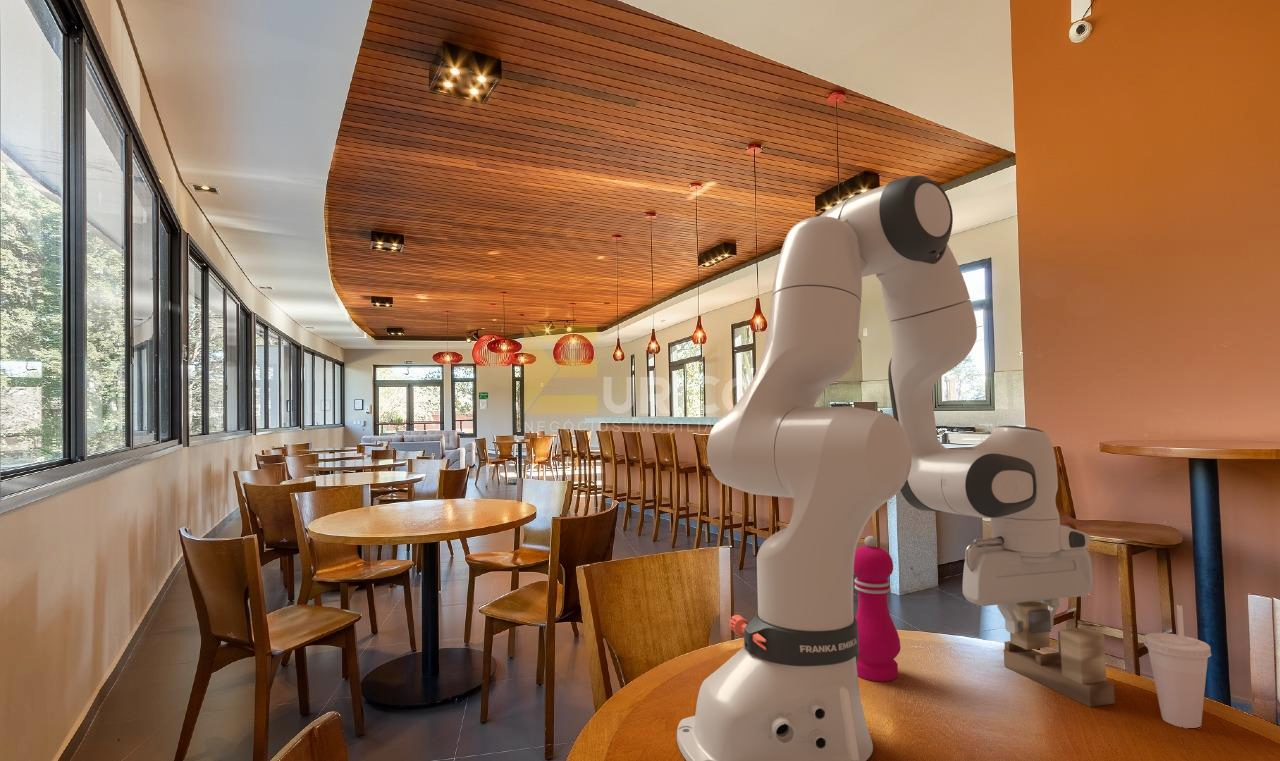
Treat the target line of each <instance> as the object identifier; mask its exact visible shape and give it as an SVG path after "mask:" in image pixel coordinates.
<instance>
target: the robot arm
mask: <svg viewBox="0 0 1280 761" xmlns="http://www.w3.org/2000/svg"><path fill="white" fill-rule="evenodd" d="M953 217H954V216H953V209H952V205H951V201H950V199H949V197H948V195H947V193H946V192H945V190H944V189H943V187H942V186H940V185H939V184H938V183H937V182H936V181H933V180H932V179H930V178H929V177H927V176H925V175H919V174H918V175H909V176H904V177H899V178H896V179H893V180H891V181H889V182H888V183H886V184H885V185H883V186H882V185H881V186H878V187H876V188H872V189H871V190H868V191H867V190H866V191H865V192H861V193H859V194H856V195H853V196H851V197H849V198H846V199H844V200H842V201H841V202H839V203H837V204H835V205H834V206H831V207H830V208H829V209H827V210H826V211H823V212H820V213H817V214H816V215H814V216H811V217H808V218H805V219H803V220H800V221H798V222H796V224H794V225H793V226H792V227H791V228H790V229H789V231H788V232H787V234H786V236H785V238H784V241H783V245H782V247H781V250H780V253H779V257H778V261H777V264H776V265H777V266H776V270H775V273H774V279H773V284H772V290H771V291H772V292H771V299H770V306H769V307H770V308H769V309H770V310H769V315H768V316H769V317H768V323H767V329H766V336H765V342H764V348H763V351H762V352H763V353H762V355H761V358H760V362H759V365H758V367H757V369H756V372H755V374H754V375H753V378H752V379H751V382H750V383H749V385H748V387H747V388H746V390H745V392H744V393H743V395H742V396H741V398H740V399H739V400H738V402H737V403H736V404H735V405H734V406H733V407H732V408H731V409H730V410H729V411H728V412H727V413H725V414H724V415H722V417H720V418H719V419H718V420H717V421H716V423H714V425H713V426H712V429H711V430H710V433H709V435H708V438H707V446H706V457H707V462H708V465H709V468H710V470H711V473H712V474H713V476H714V477H715V479H716V480H717V481H718V482H720V483H721V484H722V485H725V486H728V487H730V488H733V489H736V490H738V491H740V492H741V491H742V492H744V493H748V494H751V495H759V496H768V497H769V496H770V497H777V498H787V499H789V498H790V499H793V509H792V514H791V518H790V521H789V523H788V526H787V527H785V528H782V529H780V530H778V531H777V532H775V533H773V534H772V535H770V536H769V537H768V538H766V539H765V540H764V541H763V543H762V544H761V546H760V547H759V549H758V552H757V555H756V579H757V580H756V584H757V585H756V586H757V611H756V612H755V614H754V616H753V618H752V619H751V620H750V621H748V620H747V619H745V618H744V617H743V616H742V615H740V614H735V615H733V616H731V618H730V619H728V620H729V622H728V625H729V626H728V627H729V628H730V630H731V631H732V632H733V633H735V634H736V635H737V636H739V637H740V636H741V637H742V636H743V643H744V644H743V645H744V646H743V647H741V648H740V649H738V651H737V652H736V653H734V655H733V656H732V657H730V658H729V659H728V660H727V661H726V662H724V663H723V664H722V665H721V666H720V667H718V668H717V669H716V670H715V671H714V672H712V673H711V674H710V675H709V676H707V677H706V678H705V679H704V680H703V681H702V683H701V685H700V688H699V692H698V694H697V700H696V705H695V706H696V707H695V715H692V716H689V717H685V718H682V719H681V720H680V721H679V723H678V726H677V728H676V729H677V731H676V742H677V745H678V749H679V751H680V753H681V755H682V757H683V758H684V759H685V761H867V760H869V758H870V757H871V755H872V753H873V751H874V745H873V741H872V738H871V735H870V731H869V728H868V724H867V721H866V720H867V719H866V716H865V712H864V708H863V707H864V706H863V702H862V697H861V696H862V695H861V690H860V683H859V676H858V673H857V662H858V657H859V637H858V622H857V620H856V618H855V617H856V616H854V580H855V578H854V575H855V574H854V559H855V552H856V550H857V549H858V548H857V547H858V543H859V540H860V538H861V535H862V533H863V531H864V528H865V526H866V525H867V523H868V522H869V520H870V519H871V517H873V515H874V514H875V512H877V510H879V508H881V507H882V506H883V505H884V504H885V503H886V502H888V501H890V500H891V499H892V498H894V497H895V496H896V495H897V494H898V493H899V492H900V493H901V495H902V496H903V498H904V500H905V501H906V502H907V503H908V504H909V505H910V506H912V507H913V508H915V509H917V510H920V511H923V512H936V513H939V512H940V513H950V514H953V515H954V514H955V515H959V516H966V517H967V516H969V517H975V518H982V519H990V528H991V529H990V530H991V531H990V532H991V537H988V538H976V539H973V540H972V542H971V543H970V544H969V545H968V546H967V547H965V551H964V553H965V554H964V555H965V559H964V565H963V573H962V574H963V575H962V594H963V596H964V597H965V599H966V600H967V601H968V602H970V603H973V604H975V605H979V606H981V607H990V606H996V607H997V609H998V611H999V612H1000V614H1001V615H1002V618H1003V619H1004V626H1005V627H1004V628H1005V630H1006V632H1008V633H1009V634H1010V633H1013V634H1015V633H1022V632H1023V628H1022V627H1023V621H1021V620H1018V619H1017V618H1016V616H1015V614H1014V611H1013V610H1016V603H1020V602H1030V601H1037V602H1040V603H1043V604H1046V605H1048V610H1050V620H1051V630H1053V629H1054V618H1055V615H1056V614H1057V612H1058V610H1059V608H1060V599H1067V598H1069V599H1070V598H1078V597H1086V596H1088V595H1089V594H1090V592H1091V591H1092V588H1093V584H1094V583H1093V582H1094V581H1093V566H1092V565H1093V564H1092V557H1091V555H1090V554H1091V553H1090V552H1089V551H1088V550H1087V549H1088V548H1089V547H1090V545H1091V544H1090V543H1091V538H1090V535H1089V534H1088V533H1086V532H1083V531H1081V530H1077V529H1074V528H1071V527H1068V526H1065V525H1062V524H1061V523H1060V522H1061V519H1060V513H1059V510H1058V507H1057V504H1056V498H1057V493H1058V489H1059V483H1058V482H1059V479H1058V469H1057V468H1058V467H1057V466H1058V465H1057V460H1056V454H1055V449H1054V446H1053V443H1052V442H1053V441H1052V440H1051V438H1050V436H1049V434H1048V433H1046V432H1045V431H1043V430H1041V429H1038V428H1034V427H1028V426H1018V425H998V426H995V427H993V428H992V429H991V433H990V435H989V436H988V437H987V438H986V439H984V441H981V442H980V443H979V444H977V445H975V446H972V447H970V449H955V448H946V447H945V446H944V445H943V444H942V443H941V442H940V440H939V437H938V430H937V424H936V418H935V410H934V403H933V390H934V387H935V385H936V384H937V382H938V380H939V379H940V378H941V377H943V376H944V375H945V374H946V373H948V372H949V371H951V370H953V369H955V368H956V367H957V366H958V365H960V364H961V363H962V362H963V361H964V360H965V359H966V358H967V357H968V356H969V354H970V352H971V351H972V350H973V347H974V345H975V343H976V341H977V338H978V337H977V336H978V331H977V328H978V326H977V325H978V324H977V319H976V318H977V317H976V314H975V311H974V308H973V304H972V301H971V297H970V294H969V290H968V287H967V284H966V282H965V279H964V275H963V273H962V271H961V268H960V266H959V263H958V261H957V260H956V257H955V256H954V254H953V252H952V250H951V248H950V246H949V244H948V243H949V242H950V241H949V240H950V237H951V234H952V229H953V223H954V222H953V220H954V219H953ZM872 275H875V276H876V278H877V280H879V281H880V283H881V290H882V297H883V302H884V306H885V307H884V308H885V312H886V316H887V320H888V323H889V327H890V332H891V338H892V339H891V340H892V341H891V342H892V357H891V358H890V360H889V363H888V373H887V376H888V378H887V379H888V389H889V396H890V397H889V398H890V402H891V410H892V415H891V414H889V413H885V412H881V411H876V410H871V409H866V408H861V407H854V406H820V407H819V406H816V404H817V401H818V400H819V397H820V396H821V395H822V394H823V392H824V391H825V390H826V389H827V388H828V387H829V386H830V385H832V384H834V382H836V381H838V380H839V379H841V378H842V377H844V376H845V375H847V374H848V372H849V371H850V370H851V369H852V368H853V366H854V364H855V362H856V359H857V355H858V347H859V346H858V343H859V334H860V320H861V308H862V307H861V306H862V292H863V290H862V289H863V283H862V282H863V279H862V278H864V277H865V278H866V277H868V276H872ZM815 406H816V407H815Z"/></svg>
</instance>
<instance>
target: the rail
mask: <svg viewBox="0 0 1280 761" xmlns="http://www.w3.org/2000/svg"><path fill="white" fill-rule="evenodd" d="M1057 638H1058V639H1057V640H1058V644H1057V645H1058V651H1057V652H1049V653H1041V652H1039V651H1036V650H1035V649H1030V650H1027V649H1024V648H1022V647H1019V646H1017V645H1015V644H1012V643H1011V642H1010V640H1008V641H1004V649H1003V663H1004V664H1003V665H1004V668H1006V669H1009V670H1010V671H1013V672H1015V673H1017V674H1020V675H1021V676H1024V677H1026V678H1028V679H1030V680H1031V681H1032V680H1033V681H1034V682H1036V683H1039V684H1041V685H1043V686H1045V687H1047V688H1049V689H1052V690H1054V691H1055V692H1057V693H1059V694H1062V695H1064V696H1065V697H1068V698H1070V699H1072V700H1075V701H1077V702H1079V703H1081V704H1083V705H1085V706H1087V707H1090V708H1092V707H1098V706H1099V707H1101V706H1105V705H1106V706H1107V705H1112V704H1115V703H1116V702H1115V701H1116V699H1115V684H1114V683H1113V682H1110V681H1108V680H1107V664H1106V662H1107V661H1106V646H1105V634H1104V633H1101V632H1098V631H1095V630H1093V629H1089V628H1087V627H1085V626H1082V627H1075V628H1074V627H1073V628H1065V629H1060V630H1059V631H1057Z"/></svg>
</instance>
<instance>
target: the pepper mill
mask: <svg viewBox="0 0 1280 761" xmlns="http://www.w3.org/2000/svg"><path fill="white" fill-rule="evenodd" d="M877 545H878V539H877V538H876V537H874V536H873V535H868V536H866V537H865V538H864V546H861V547H858V548H856V552H855V559H854V575H855V578H854V579H853V583H855V584H854V589H855V590H856V591H857V596H858V603H857V606H858V607H857V611H856V614H855V616H854V617H855V618H856V620H857V622H858V637H859V657H858V662H857V673H858V678H861V679H863V680H868V681H872V682H891V681H894V680H896V679H897V678H898V676H899V675H898V674H899V668H898V666H899V665H898V664H899V663H898V661H897V660H895V659H896V657H898V655H899V654H900V652H901V648H902V647H901V640H900V636H899V633H898V630H897V628H896V626H895V624H894V622H893V620H892V617H891V615H890V611H889V607H888V593H889V592H890V591H891V588H890V585H891V582H890V580H888V579H889V577H890V576H891V575H892V574H893V571H894V562H893V558H892V557H891V555H890V553H889V552H887V551H886V550H885V549H883V548H882V547H878V546H877Z"/></svg>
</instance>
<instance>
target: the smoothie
mask: <svg viewBox="0 0 1280 761" xmlns="http://www.w3.org/2000/svg"><path fill="white" fill-rule="evenodd" d="M1183 613H1184V610H1183V605H1182V604H1176V616H1177V617H1176V618H1177V619H1176V620H1177V621H1176V622H1177V634H1175V633H1167V632H1150V633H1147V634H1145V635H1144V636H1143V637H1144V641H1143V644H1144V646H1145V647H1146V648H1147V649H1148V650H1147V651H1148V656H1149V661H1150V666H1151V670H1152V675H1153V680H1154V685H1155V691H1156V695H1157V699H1158V705H1159V709H1160V710H1159V711H1160V715H1161V719H1162V720H1163V721H1164V722H1166V723H1168V724H1170V725H1173V726H1176V727H1179V728H1182V727H1183V728H1184V729H1188V728H1195V727H1200V726H1201V727H1202V720H1203V710H1204V703H1205V702H1204V701H1205V688H1206V679H1207V671H1208V661H1209V660H1208V658H1210V657H1211V656H1212V653H1211V645H1209V644H1208V643H1206V642H1205V641H1202V640H1201V639H1197V638H1194V637H1190V636H1186V635H1185V629H1184V614H1183ZM1198 696H1199V697H1198ZM1201 727H1200V728H1201Z"/></svg>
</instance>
